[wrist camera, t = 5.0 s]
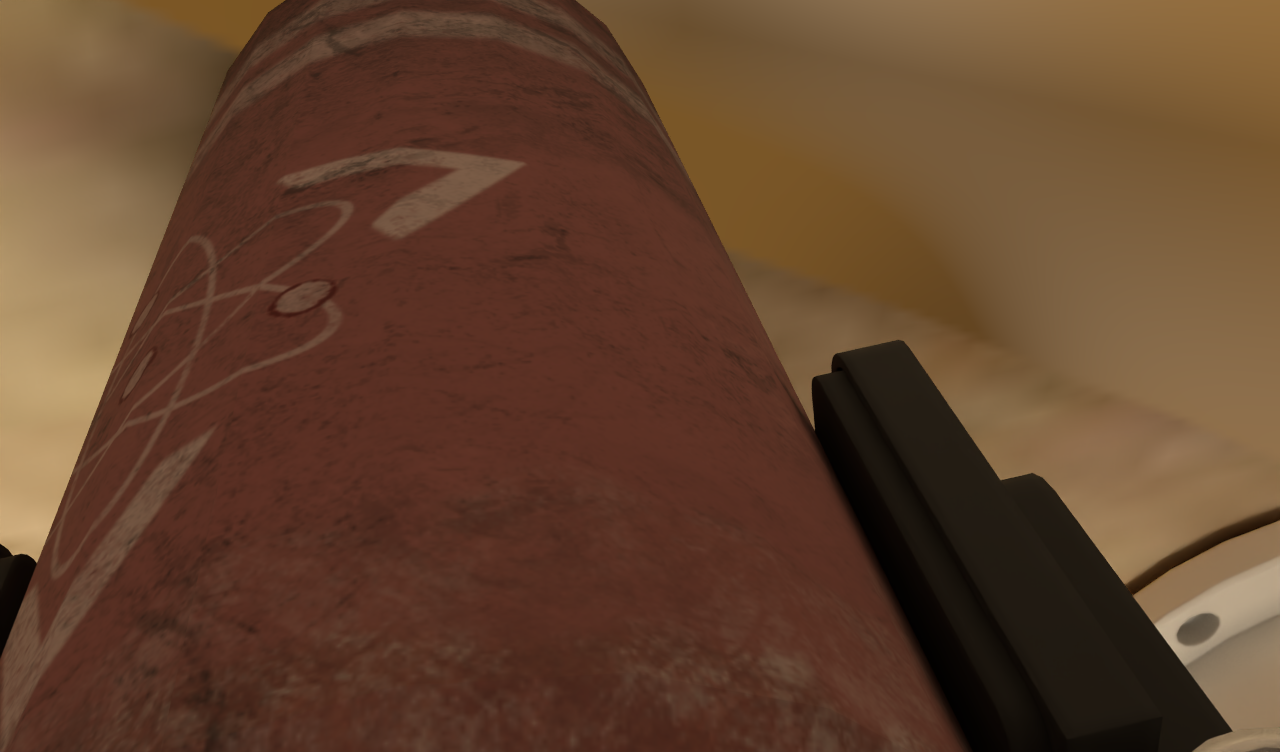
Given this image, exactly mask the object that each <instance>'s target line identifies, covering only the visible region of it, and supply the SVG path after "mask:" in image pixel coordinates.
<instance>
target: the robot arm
mask: <svg viewBox="0 0 1280 752" xmlns="http://www.w3.org/2000/svg"><path fill="white" fill-rule="evenodd" d="M831 369H832V373H829V374H824V375H820V376H815V377H814V378H813V379H812V400H813V412H814V423H815V433H816V435H817V437H818V439H819V441H820V443H821V445H822V447H823V449H824V451H825V453H826V455H827V457H828V459H829V461H830V463H831V465H832V467H833V469H834V471H835V473H836V475H837V477H838V479H839V481H840V483H841V485H842V487H843V489H844V491H845V493H846V495H847V497H848V499H849V501H850V503H851V505H852V508H853V510H854V512H855V514H856V516H857V518H858V520H859V522H860V524H861V526H862V528H863V530H864V532H865V534H866V536H867V538H868V540H869V542H870V544H871V546H872V548H873V550H874V552H875V554H876V556H877V558H878V560H879V562H880V564H881V566H882V568H883V570H884V572H885V574H886V576H887V578H888V580H889V582H890V584H891V586H892V588H893V590H894V592H895V594H896V596H897V599H898V601H899V603H900V605H901V607H902V609H903V611H904V613H905V615H906V617H907V619H908V621H909V623H910V625H911V627H912V629H913V631H914V633H915V635H916V637H917V639H918V641H919V643H920V645H921V647H922V649H923V651H924V653H925V655H926V657H927V659H928V661H929V663H930V665H931V667H932V669H933V671H934V673H935V675H936V677H937V679H938V681H939V683H940V685H941V687H942V689H943V692H944V694H945V696H946V698H947V700H948V702H949V704H950V706H951V708H952V710H953V712H954V714H955V716H956V718H957V720H958V722H959V724H960V726H961V728H962V730H963V732H964V734H965V736H966V738H967V740H968V742H969V744H970V746H971V748H972V750H973V752H1280V520H1279V521H1277V522H1274V523H1271V524H1269V525H1266V526H1264V527H1261V528H1258V529H1256V530H1253V531H1250V532H1248V533H1245V534H1242V535H1240V536H1237V537H1234V538H1232V539H1229V540H1227V541H1224V542H1222V543H1220V544H1218V545H1216V546H1214V547H1213V548H1211V549H1209V550H1207V551H1205V552H1203V553H1201V554H1199V555H1197V556H1195V557H1193V558H1192V559H1190V560H1188V561H1186V562H1184V563H1182V564H1180V565H1178V566H1176V567H1174V568H1172V569H1171V570H1169V571H1168V572H1166V573H1165V574H1163V575H1162V576H1160V577H1159V578H1157V579H1156V580H1155V581H1153V582H1152V583H1150V584H1149V585H1147V586H1146V587H1144V588H1143V589H1141V590H1140V591H1139V592H1137V593H1136V594H1134V595H1133V596H1132V594H1131V593H1130V592H1129V590H1128V589H1127V588H1126V586H1125V585H1124V584H1123V582H1122V581H1121V579H1120V578H1119V577H1118V575H1117V574H1116V573H1115V571H1114V570H1113V569H1112V567H1111V566H1110V565H1109V563H1108V562H1107V561H1106V559H1105V558H1104V557H1103V555H1102V554H1101V552H1100V551H1099V550H1098V548H1097V547H1096V546H1095V544H1094V543H1093V542H1092V540H1091V539H1090V538H1089V536H1088V535H1087V534H1086V532H1085V531H1084V530H1083V528H1082V527H1081V526H1080V524H1079V523H1078V521H1077V520H1076V519H1075V517H1074V516H1073V515H1072V513H1071V512H1070V511H1069V509H1068V508H1067V507H1066V505H1065V504H1064V503H1063V501H1062V500H1061V499H1060V497H1059V496H1058V494H1057V493H1056V492H1055V490H1054V489H1053V488H1052V487H1051V486H1050V485H1049V484H1048V483H1047V482H1046V481H1045V480H1044V479H1043V478H1042V477H1040V476H1037V475H1035V474H1033V473H1031V474H1027V475H1022V476H1018V477H1014V478H1009V479H1005V480H1000V479H999V478H998V476H997V475H996V473H995V472H994V470H993V469H992V467H991V466H990V464H989V463H988V462H987V460H986V459H985V457H984V456H983V454H982V453H981V451H980V450H979V448H978V447H977V446H976V444H975V443H974V441H973V440H972V438H971V437H970V435H969V434H968V432H967V431H966V430H965V428H964V427H963V425H962V424H961V422H960V421H959V419H958V418H957V416H956V415H955V414H954V412H953V411H952V409H951V408H950V406H949V405H948V403H947V402H946V400H945V399H944V398H943V396H942V395H941V393H940V392H939V390H938V389H937V387H936V386H935V385H934V383H933V382H932V380H931V379H930V377H929V376H928V374H927V373H926V371H925V370H924V369H923V367H922V366H921V364H920V363H919V361H918V360H917V358H916V357H915V355H914V354H913V353H912V351H911V350H910V348H909V347H908V346H907V345H906V344H905V342H904V341H901V340H896V341H891V342H887V343H882V344H878V345H873V346H869V347H864V348H860V349H855V350H851V351H846V352H842V353H837V354H835V355H834V356H833V359H832V365H831ZM36 565H37V563H36V562H35V560H34V559H33V558H31V557H30V556H28V555H25V554H19V555H15V556H13V555H12V554H11V553H10V551H9V550H8V549H7V548H5V547H4V546H2V545H1V544H0V658H1V656H2V653H3V651H4V648H5V645H6V643H7V640H8V638H9V635H10V632H11V630H12V627H13V625H14V622H15V620H16V617H17V614H18V612H19V609H20V607H21V604H22V601H23V599H24V596H25V594H26V591H27V589H28V586H29V583H30V581H31V578H32V576H33V573H34V570H35V568H36Z"/></svg>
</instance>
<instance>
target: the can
mask: <svg viewBox="0 0 1280 752" xmlns="http://www.w3.org/2000/svg"><path fill="white" fill-rule="evenodd" d="M0 752H973V750H972V748H971V746H970V744H969V742H968V740H967V738H966V736H965V734H964V732H963V730H962V728H961V726H960V724H959V722H958V720H957V718H956V716H955V714H954V712H953V710H952V708H951V706H950V704H949V702H948V700H947V698H946V696H945V694H944V692H943V689H942V687H941V685H940V683H939V681H938V679H937V677H936V675H935V673H934V671H933V669H932V667H931V665H930V663H929V661H928V659H927V657H926V655H925V653H924V651H923V649H922V647H921V645H920V643H919V641H918V639H917V637H916V635H915V633H914V631H913V629H912V627H911V625H910V623H909V621H908V619H907V617H906V615H905V613H904V611H903V609H902V607H901V605H900V603H899V601H898V599H897V596H896V594H895V592H894V590H893V588H892V586H891V584H890V582H889V580H888V578H887V576H886V574H885V572H884V570H883V568H882V566H881V564H880V562H879V560H878V558H877V556H876V554H875V552H874V550H873V548H872V546H871V544H870V542H869V540H868V538H867V536H866V534H865V532H864V530H863V528H862V526H861V524H860V522H859V520H858V518H857V516H856V514H855V512H854V510H853V508H852V505H851V503H850V501H849V499H848V497H847V495H846V493H845V491H844V489H843V487H842V485H841V483H840V481H839V479H838V477H837V475H836V473H835V471H834V469H833V467H832V465H831V463H830V461H829V459H828V457H827V455H826V453H825V451H824V449H823V447H822V445H821V443H820V441H819V439H818V437H817V435H816V433H815V431H814V429H813V427H812V425H811V423H810V421H809V419H808V417H807V415H806V412H805V410H804V408H803V406H802V404H801V402H800V400H799V398H798V396H797V394H796V392H795V390H794V388H793V386H792V384H791V382H790V380H789V378H788V376H787V374H786V372H785V370H784V368H783V366H782V364H781V362H780V360H779V358H778V356H777V354H776V352H775V350H774V348H773V346H772V344H771V342H770V340H769V338H768V336H767V334H766V332H765V330H764V328H763V326H762V324H761V322H760V319H759V317H758V315H757V313H756V311H755V309H754V307H753V305H752V303H751V301H750V299H749V297H748V295H747V293H746V291H745V289H744V287H743V285H742V283H741V281H740V279H739V277H738V275H737V273H736V271H735V269H734V267H733V265H732V263H731V261H730V259H729V257H728V255H727V253H726V251H725V249H724V247H723V245H722V243H721V241H720V239H719V237H718V235H717V233H716V231H715V229H714V226H713V224H712V223H711V220H710V218H709V216H708V214H707V212H706V210H705V208H704V206H703V204H702V202H701V200H700V198H699V196H698V194H697V192H696V190H695V188H694V186H693V184H692V182H691V180H690V178H689V176H688V174H687V172H686V170H685V168H684V166H683V164H682V162H681V160H680V158H679V156H678V154H677V152H676V150H675V148H674V146H673V144H672V142H671V140H670V138H669V136H668V133H667V131H666V129H665V127H664V125H663V124H662V122H661V119H660V117H659V115H658V114H657V111H656V109H655V107H654V105H653V103H652V101H651V99H650V97H649V95H648V93H647V91H646V89H645V87H644V85H643V83H642V82H641V80H640V79H639V77H638V75H637V74H636V72H635V70H634V69H633V67H632V66H631V64H630V62H629V61H628V59H627V58H626V56H625V55H624V53H623V51H622V50H621V49H620V47H619V45H618V43H617V42H616V40H615V39H614V37H613V36H612V34H611V33H610V31H609V29H608V28H607V26H606V25H605V24H604V23H603V22H601V21H600V20H599V19H598V18H596V17H595V16H594V15H593V14H591V13H590V12H589V11H588V10H587V9H585V8H584V7H583V6H581V5H580V4H579V3H578V2H577V1H576V0H285V1H284V2H283V3H281V4H280V5H278V6H277V7H275V8H274V9H273V10H271V11H270V12H268V14H267V15H266V17H265V18H264V19H263V21H262V22H261V24H260V25H259V27H258V28H257V30H256V31H255V32H254V34H253V35H252V37H251V38H250V40H249V41H248V43H247V44H246V45H245V47H244V48H243V50H242V51H241V53H240V54H239V56H238V57H237V58H236V60H235V61H234V63H233V64H232V66H231V67H230V69H229V70H228V72H227V74H226V77H225V80H224V82H223V85H222V87H221V90H220V92H219V95H218V98H217V100H216V103H215V105H214V108H213V111H212V113H211V116H210V118H209V121H208V123H207V126H206V129H205V131H204V134H203V136H202V139H201V142H200V144H199V147H198V149H197V152H196V154H195V157H194V160H193V162H192V165H191V167H190V170H189V173H188V175H187V178H186V180H185V183H184V185H183V188H182V191H181V193H180V196H179V198H178V201H177V204H176V206H175V209H174V211H173V214H172V216H171V219H170V222H169V224H168V227H167V229H166V232H165V235H164V237H163V240H162V242H161V245H160V247H159V250H158V253H157V255H156V258H155V260H154V263H153V266H152V268H151V271H150V273H149V276H148V278H147V281H146V284H145V286H144V289H143V291H142V294H141V297H140V299H139V302H138V304H137V307H136V309H135V312H134V315H133V317H132V320H131V322H130V325H129V328H128V330H127V333H126V335H125V338H124V341H123V343H122V346H121V348H120V351H119V353H118V356H117V359H116V361H115V364H114V366H113V369H112V372H111V374H110V377H109V379H108V382H107V384H106V387H105V390H104V392H103V395H102V397H101V400H100V403H99V405H98V408H97V410H96V413H95V415H94V418H93V421H92V423H91V426H90V428H89V431H88V434H87V436H86V439H85V441H84V444H83V446H82V449H81V452H80V454H79V457H78V459H77V462H76V465H75V467H74V470H73V472H72V475H71V477H70V480H69V483H68V485H67V488H66V490H65V493H64V496H63V498H62V501H61V503H60V506H59V508H58V511H57V514H56V516H55V519H54V521H53V524H52V527H51V529H50V532H49V534H48V537H47V539H46V542H45V545H44V547H43V550H42V552H41V555H40V558H39V560H38V563H37V565H36V568H35V570H34V573H33V576H32V578H31V581H30V583H29V586H28V589H27V591H26V594H25V596H24V599H23V601H22V604H21V607H20V609H19V612H18V614H17V617H16V620H15V622H14V625H13V627H12V630H11V632H10V635H9V638H8V640H7V643H6V645H5V648H4V651H3V653H2V656H1V658H0Z"/></svg>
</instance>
